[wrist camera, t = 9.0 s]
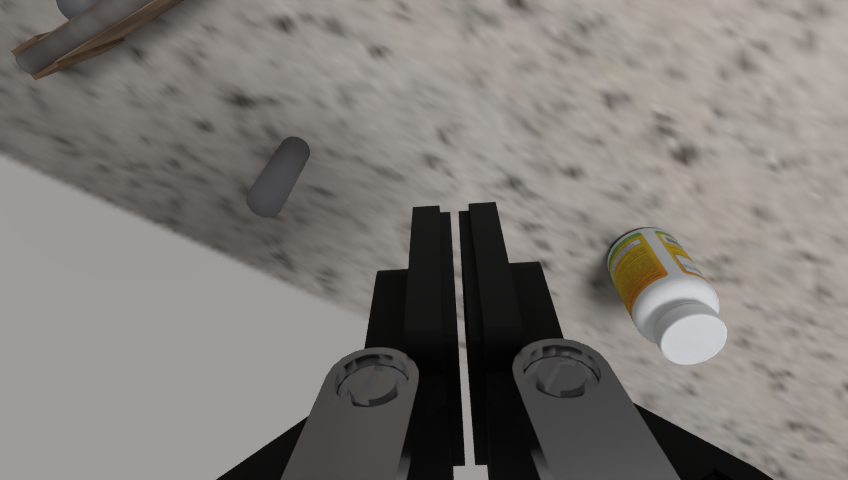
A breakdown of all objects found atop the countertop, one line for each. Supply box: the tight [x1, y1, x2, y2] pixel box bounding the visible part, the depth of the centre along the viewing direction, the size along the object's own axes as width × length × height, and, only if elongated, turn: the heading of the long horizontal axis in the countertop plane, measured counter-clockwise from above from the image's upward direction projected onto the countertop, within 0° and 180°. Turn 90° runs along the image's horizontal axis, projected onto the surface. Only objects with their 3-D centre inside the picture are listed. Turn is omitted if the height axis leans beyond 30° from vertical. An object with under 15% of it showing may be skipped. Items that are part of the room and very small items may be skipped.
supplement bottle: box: [607, 228, 727, 365], centre depth 38 cm, size 5×5×10 cm
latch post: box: [247, 137, 310, 217], centre depth 35 cm, size 2×2×8 cm
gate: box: [12, 0, 183, 80], centre depth 30 cm, size 10×2×8 cm, turn 117°
